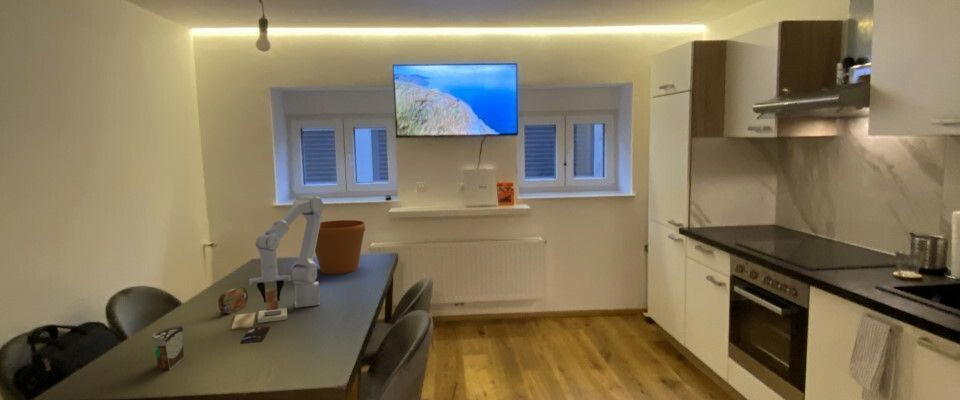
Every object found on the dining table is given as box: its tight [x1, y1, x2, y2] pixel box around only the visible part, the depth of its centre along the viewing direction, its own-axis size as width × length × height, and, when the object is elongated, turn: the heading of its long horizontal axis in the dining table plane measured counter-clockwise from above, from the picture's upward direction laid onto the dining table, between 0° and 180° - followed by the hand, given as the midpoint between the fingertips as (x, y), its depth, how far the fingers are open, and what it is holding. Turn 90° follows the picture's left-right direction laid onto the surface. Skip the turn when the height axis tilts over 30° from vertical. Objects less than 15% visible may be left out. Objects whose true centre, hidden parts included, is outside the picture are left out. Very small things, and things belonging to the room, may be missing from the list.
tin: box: [217, 286, 249, 315], centre depth 213 cm, size 15×3×8 cm, turn 168°
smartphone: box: [239, 325, 271, 345], centre depth 185 cm, size 7×1×15 cm
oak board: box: [230, 312, 257, 331], centre depth 199 cm, size 7×16×1 cm, turn 19°
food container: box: [150, 324, 185, 371], centre depth 162 cm, size 12×6×10 cm, turn 5°
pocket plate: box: [257, 307, 288, 324], centre depth 204 cm, size 10×10×2 cm
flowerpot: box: [314, 219, 366, 275], centre depth 276 cm, size 28×28×24 cm
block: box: [265, 288, 279, 311], centre depth 203 cm, size 4×4×7 cm
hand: (271, 301), depth 203 cm, fingers closed on block, 4 cm apart
